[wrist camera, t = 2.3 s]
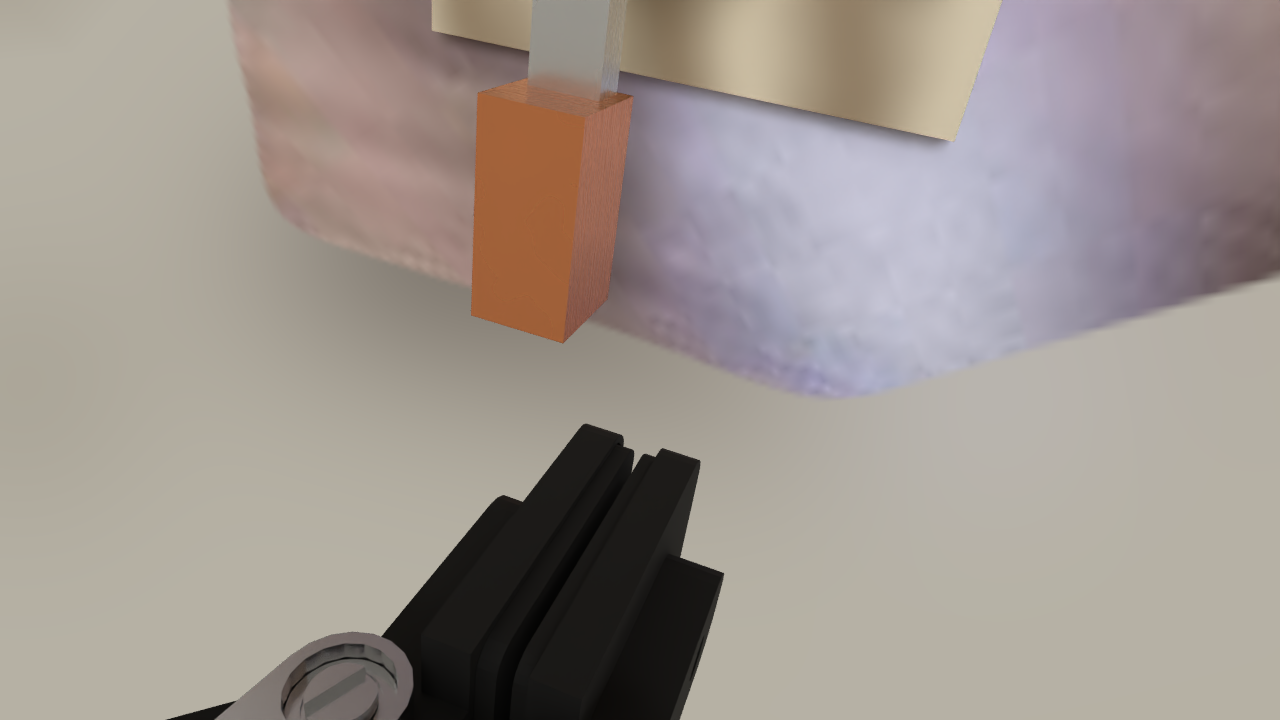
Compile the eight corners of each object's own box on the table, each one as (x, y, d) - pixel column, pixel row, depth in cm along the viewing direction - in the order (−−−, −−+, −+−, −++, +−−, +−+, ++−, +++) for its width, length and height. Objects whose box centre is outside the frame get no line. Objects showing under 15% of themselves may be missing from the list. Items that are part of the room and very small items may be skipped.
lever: (556, -338, 17) (482, -393, 14) (696, -326, 16) (645, -382, 13) (518, 273, 24) (464, 313, 22) (613, 300, 23) (570, 345, 21)
